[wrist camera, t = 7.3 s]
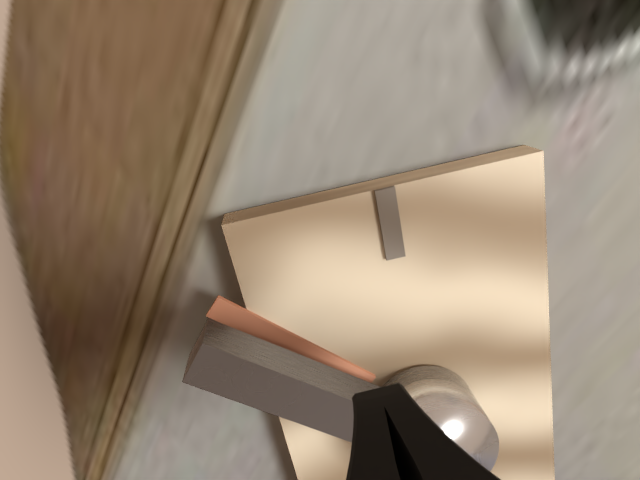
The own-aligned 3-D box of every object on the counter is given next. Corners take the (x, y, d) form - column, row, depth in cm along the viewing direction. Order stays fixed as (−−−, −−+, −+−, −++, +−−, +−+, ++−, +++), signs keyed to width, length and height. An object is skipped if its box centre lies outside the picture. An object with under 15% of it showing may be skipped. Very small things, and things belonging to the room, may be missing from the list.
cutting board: (539, 460, 27) (556, 485, 25) (285, 523, 26) (286, 552, 25) (524, 145, 20) (546, 151, 19) (186, 222, 20) (179, 236, 18)
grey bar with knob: (492, 388, 22) (535, 449, 19) (435, 464, 24) (465, 535, 20) (227, 274, 19) (218, 322, 15) (177, 371, 20) (158, 436, 17)
